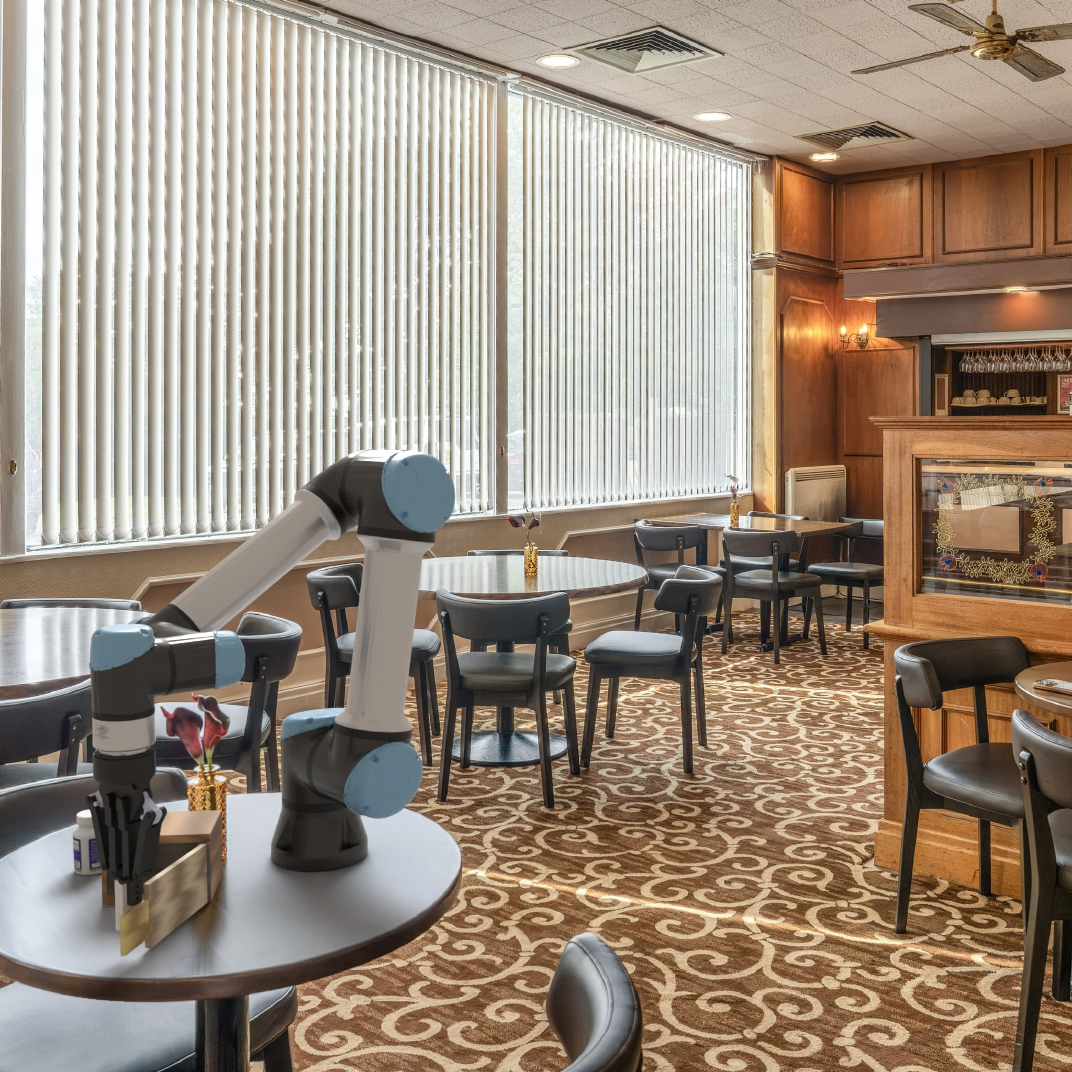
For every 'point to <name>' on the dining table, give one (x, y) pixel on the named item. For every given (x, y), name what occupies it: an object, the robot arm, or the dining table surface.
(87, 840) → the pill bottle
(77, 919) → the dining table surface
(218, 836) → the case
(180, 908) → the door
